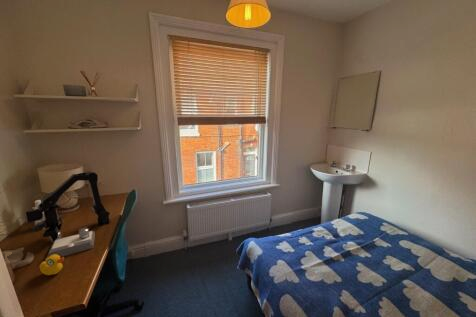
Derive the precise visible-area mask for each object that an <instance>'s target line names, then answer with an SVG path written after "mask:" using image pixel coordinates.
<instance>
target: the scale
mask: <svg viewBox="0 0 476 317" xmlns="http://www.w3.org/2000/svg"><path fill="white" fill-rule="evenodd" d="M89 235H90V236H89V237H88V238H86V239H82V240H81V239H79V233H78V234H74V235H70V236H66V237H62V238H61V239H57V240H55V241H54V242H53V243H51V244H52V245H51V246H50V249H49V251H48V254H47V255H46V258H48V257H50V256H51V255H54V254H57V255H59V256H60V258H62V257H66V256H70V255H74V254H76V253H77V254H78V253H80V252H84V251H87V250H91V249H93V248H94V244H95V243H94V242H95V236H96V233H95V230H94V231H93V230H89Z"/></svg>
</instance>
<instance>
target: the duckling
mask: <svg viewBox="0 0 476 317" xmlns="http://www.w3.org/2000/svg"><path fill="white" fill-rule="evenodd" d="M64 260H65V256H63V257H60V256H59V255H57V254H54V255H51V256H50V257H48V258H47V257H46V258H45V261H42V262H41V263H40V264H39V270H40V272H41V274H43V275H45V276H52V275H57V274H58V273H59V272H61V270H62V269H63V267H64V266H63V262H64Z"/></svg>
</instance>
